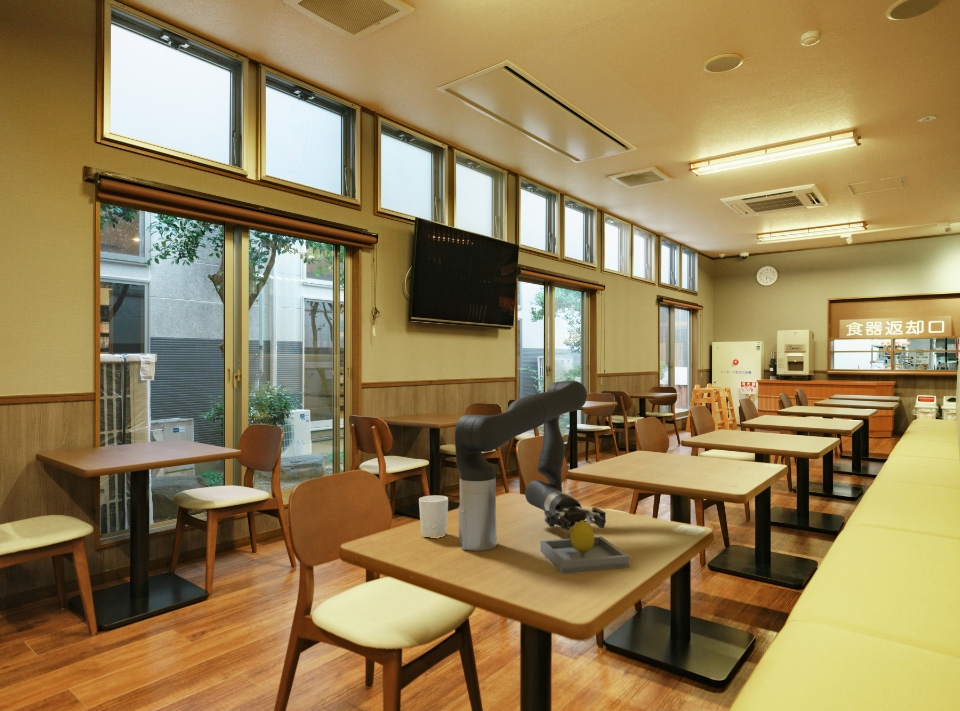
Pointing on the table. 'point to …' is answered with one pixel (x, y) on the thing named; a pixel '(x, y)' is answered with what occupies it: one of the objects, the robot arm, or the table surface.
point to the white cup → (433, 515)
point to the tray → (584, 556)
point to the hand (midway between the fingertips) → (585, 524)
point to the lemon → (582, 537)
